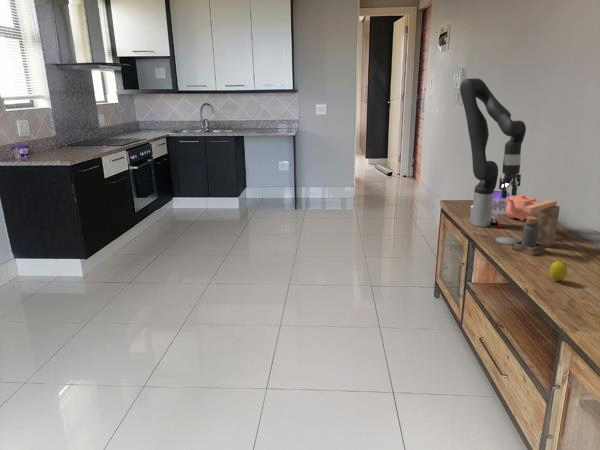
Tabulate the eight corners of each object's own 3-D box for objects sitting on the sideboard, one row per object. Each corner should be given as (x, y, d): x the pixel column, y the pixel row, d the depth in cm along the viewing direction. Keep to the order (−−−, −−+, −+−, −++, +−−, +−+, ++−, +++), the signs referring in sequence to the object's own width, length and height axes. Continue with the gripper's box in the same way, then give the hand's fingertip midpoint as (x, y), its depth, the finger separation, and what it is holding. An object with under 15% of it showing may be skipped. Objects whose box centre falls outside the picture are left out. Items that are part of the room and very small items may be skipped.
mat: (491, 240, 207) (491, 239, 207) (504, 236, 213) (504, 235, 213) (511, 246, 199) (511, 245, 199) (524, 242, 205) (524, 241, 205)
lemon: (544, 278, 166) (547, 258, 163) (558, 277, 166) (562, 257, 164) (554, 284, 160) (557, 264, 158) (568, 283, 161) (572, 263, 158)
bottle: (537, 253, 191) (542, 219, 187) (522, 252, 192) (527, 219, 188) (533, 248, 197) (537, 216, 192) (519, 247, 198) (523, 215, 193)
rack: (511, 249, 196) (516, 210, 190) (536, 240, 207) (542, 203, 201) (532, 255, 188) (538, 215, 183) (557, 245, 199) (563, 207, 194)
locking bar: (523, 211, 188) (524, 206, 187) (549, 203, 199) (550, 199, 198) (530, 212, 185) (531, 208, 185) (556, 205, 196) (557, 200, 196)
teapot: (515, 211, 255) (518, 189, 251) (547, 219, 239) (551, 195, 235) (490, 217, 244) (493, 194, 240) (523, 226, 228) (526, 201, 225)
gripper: (512, 161, 218) (509, 193, 222) (495, 164, 210) (493, 197, 215) (527, 162, 212) (524, 195, 216) (510, 165, 204) (507, 200, 209)
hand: (508, 196), depth 215 cm, fingers open, 8 cm apart
